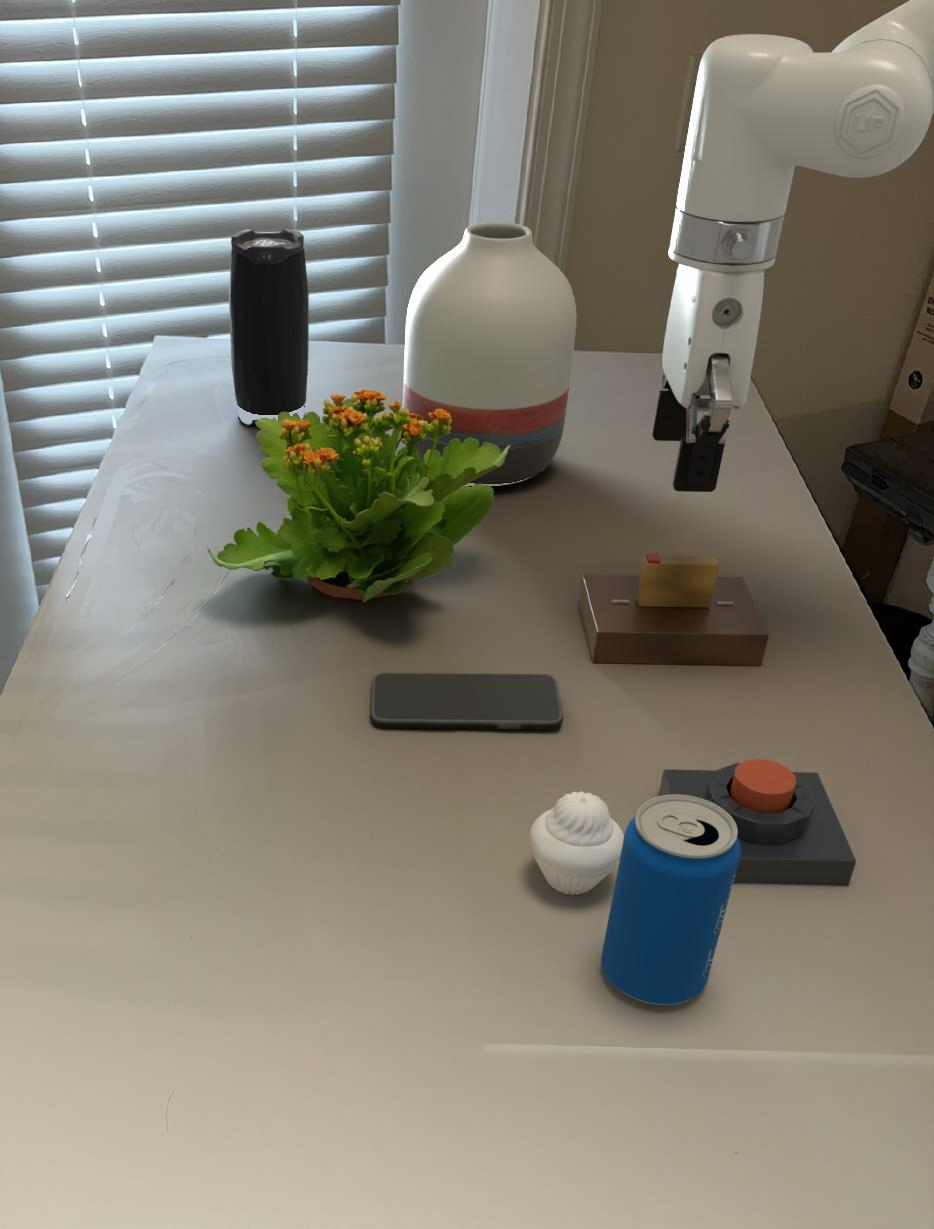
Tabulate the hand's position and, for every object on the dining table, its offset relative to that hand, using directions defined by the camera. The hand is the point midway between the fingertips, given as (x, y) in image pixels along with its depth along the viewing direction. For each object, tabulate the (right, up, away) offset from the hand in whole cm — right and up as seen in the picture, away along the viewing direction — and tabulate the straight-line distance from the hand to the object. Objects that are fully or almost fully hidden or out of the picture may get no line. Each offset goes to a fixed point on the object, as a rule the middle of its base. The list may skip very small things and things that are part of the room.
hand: (682, 463), depth 107 cm
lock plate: (+1, -12, +9) cm, 15 cm away
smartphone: (-17, -19, 0) cm, 26 cm away
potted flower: (-24, -6, +17) cm, 31 cm away
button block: (+1, -30, -13) cm, 33 cm away
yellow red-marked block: (+1, -10, +7) cm, 12 cm away
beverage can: (-8, -39, -24) cm, 46 cm away
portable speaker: (-34, +18, +47) cm, 61 cm away
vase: (-11, +10, +37) cm, 40 cm away
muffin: (-12, -33, -16) cm, 39 cm away
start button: (+1, -27, -15) cm, 31 cm away
